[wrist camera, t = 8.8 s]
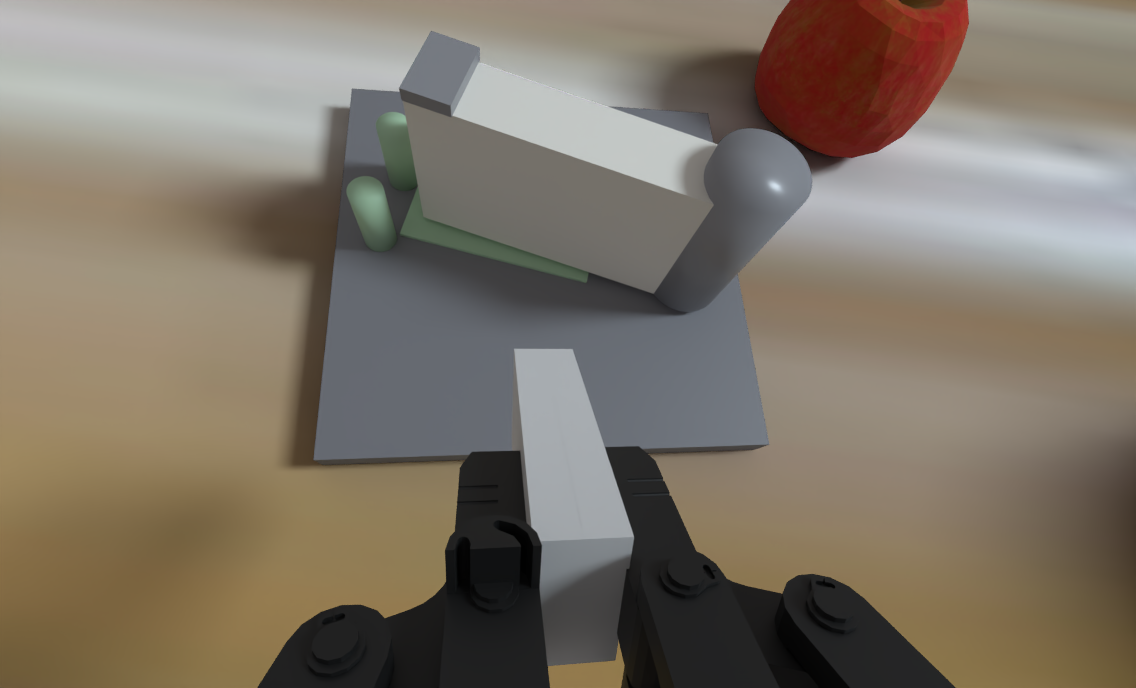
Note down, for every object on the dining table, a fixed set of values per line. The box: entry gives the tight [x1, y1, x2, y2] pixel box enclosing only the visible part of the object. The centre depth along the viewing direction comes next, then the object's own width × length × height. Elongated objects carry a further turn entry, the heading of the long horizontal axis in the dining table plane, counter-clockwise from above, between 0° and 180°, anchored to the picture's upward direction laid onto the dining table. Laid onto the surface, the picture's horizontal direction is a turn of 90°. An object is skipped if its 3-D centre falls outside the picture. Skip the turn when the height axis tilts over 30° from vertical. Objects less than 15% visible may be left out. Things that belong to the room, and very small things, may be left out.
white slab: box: [399, 31, 812, 312], centre depth 25 cm, size 16×4×9 cm, turn 74°
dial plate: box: [314, 89, 769, 465], centre depth 28 cm, size 22×21×6 cm
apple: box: [755, 0, 969, 158], centre depth 33 cm, size 11×11×11 cm
